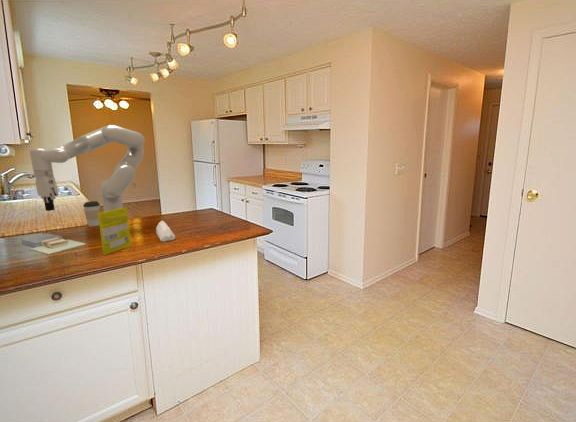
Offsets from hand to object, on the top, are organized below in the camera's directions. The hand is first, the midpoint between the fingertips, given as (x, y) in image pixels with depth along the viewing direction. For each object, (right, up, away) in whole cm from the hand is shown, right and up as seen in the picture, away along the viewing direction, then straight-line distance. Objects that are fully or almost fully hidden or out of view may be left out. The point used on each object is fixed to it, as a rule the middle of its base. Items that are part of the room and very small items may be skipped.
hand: (50, 210), depth 155 cm
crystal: (+51, -15, +17) cm, 56 cm away
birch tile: (+3, -18, -1) cm, 18 cm away
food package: (+38, -20, -7) cm, 43 cm away
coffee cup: (-4, -9, +42) cm, 43 cm away
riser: (-8, -17, +5) cm, 19 cm away
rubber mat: (+6, -18, -2) cm, 19 cm away
